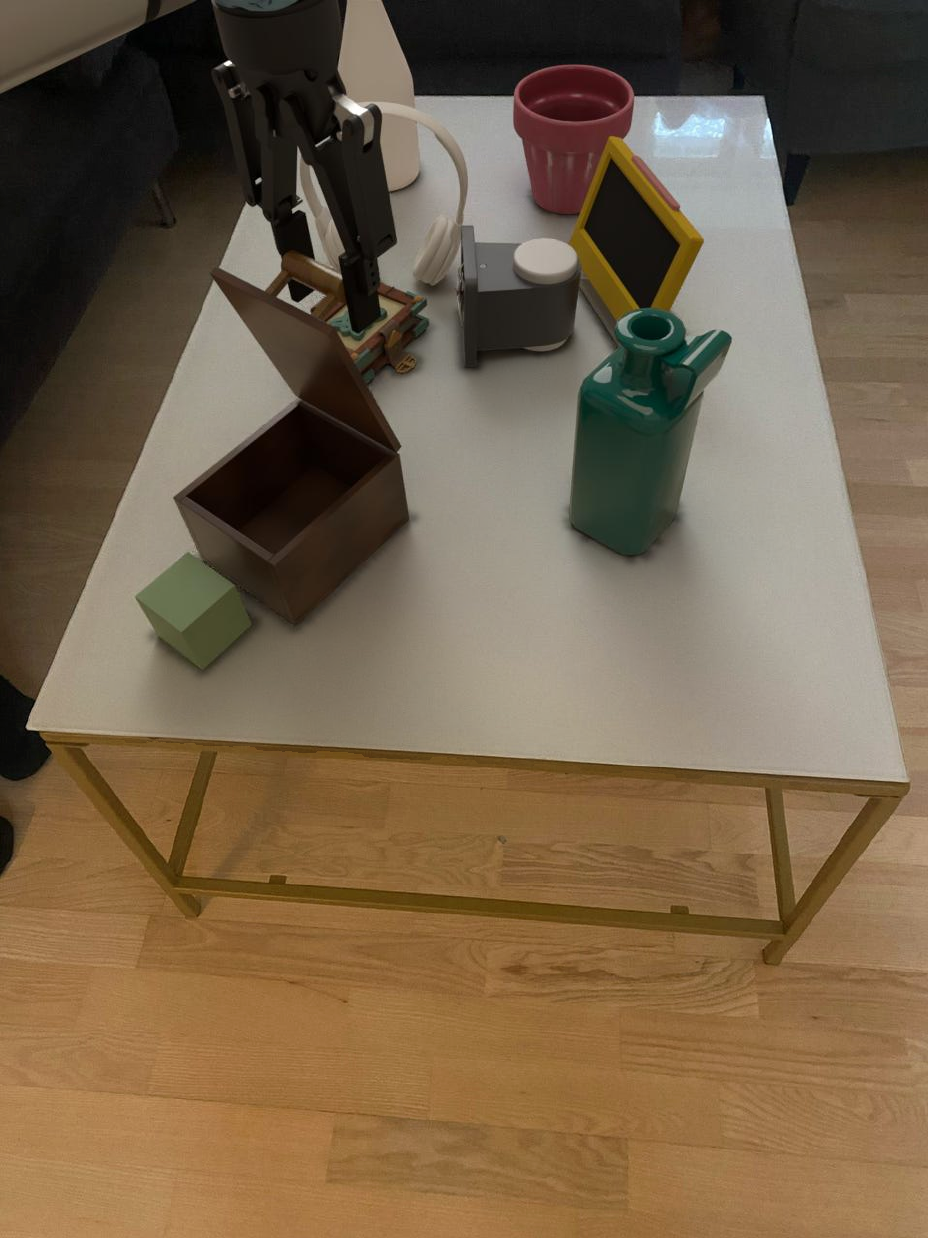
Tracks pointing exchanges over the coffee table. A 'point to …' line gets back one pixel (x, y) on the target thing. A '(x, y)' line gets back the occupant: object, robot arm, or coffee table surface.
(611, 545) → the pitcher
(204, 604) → the block
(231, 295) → the bin lid
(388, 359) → the decorative book
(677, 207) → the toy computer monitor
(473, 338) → the light fixture
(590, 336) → the coffee table surface
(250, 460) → the bin
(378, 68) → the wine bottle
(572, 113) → the flower pot
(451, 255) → the headphones
